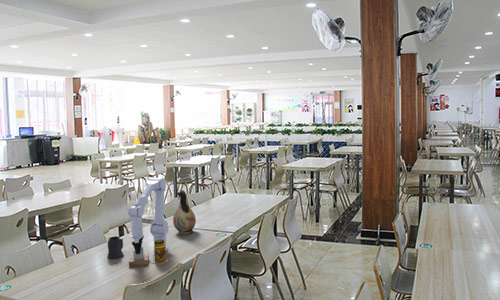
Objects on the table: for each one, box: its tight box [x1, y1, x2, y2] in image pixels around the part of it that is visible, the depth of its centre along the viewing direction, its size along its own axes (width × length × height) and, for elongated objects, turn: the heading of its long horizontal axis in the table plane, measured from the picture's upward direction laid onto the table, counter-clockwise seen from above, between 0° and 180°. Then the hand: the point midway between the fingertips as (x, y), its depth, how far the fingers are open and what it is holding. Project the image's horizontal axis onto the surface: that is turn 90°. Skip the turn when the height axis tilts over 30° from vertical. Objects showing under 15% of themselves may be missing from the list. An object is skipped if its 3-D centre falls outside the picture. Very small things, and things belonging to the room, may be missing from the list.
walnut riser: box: [128, 253, 150, 268], centre depth 227 cm, size 10×10×3 cm
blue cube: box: [132, 246, 144, 260], centre depth 227 cm, size 5×5×5 cm
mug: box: [106, 236, 124, 260], centre depth 240 cm, size 12×9×11 cm
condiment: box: [150, 240, 170, 265], centre depth 228 cm, size 7×8×12 cm
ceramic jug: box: [172, 189, 197, 235], centre depth 281 cm, size 17×15×30 cm
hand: (138, 251), depth 227 cm, fingers open, 7 cm apart
